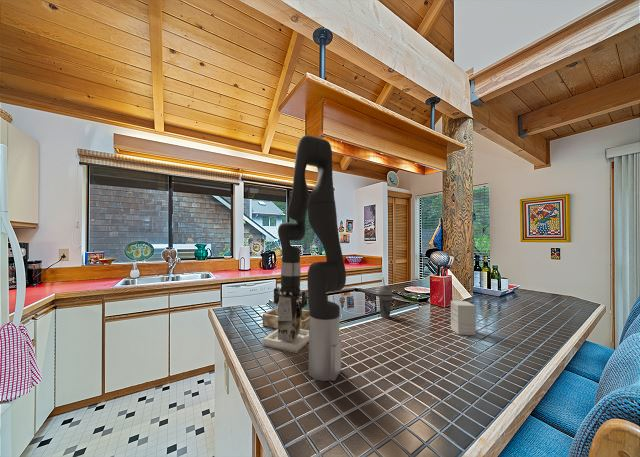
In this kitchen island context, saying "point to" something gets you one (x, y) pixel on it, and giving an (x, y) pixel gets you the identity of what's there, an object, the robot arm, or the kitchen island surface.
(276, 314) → the metal tin
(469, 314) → the supplement box
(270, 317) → the wooden holder
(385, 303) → the beverage cup
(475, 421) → the kitchen island surface
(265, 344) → the plastic tray
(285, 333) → the coffee box
